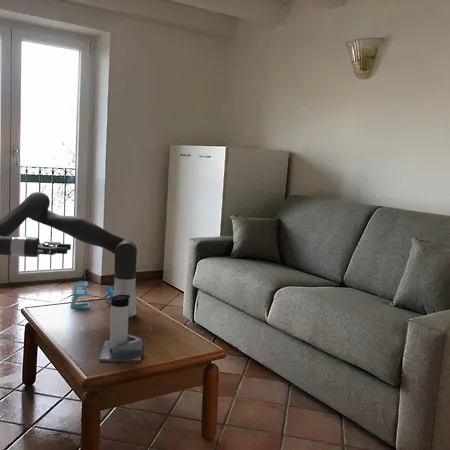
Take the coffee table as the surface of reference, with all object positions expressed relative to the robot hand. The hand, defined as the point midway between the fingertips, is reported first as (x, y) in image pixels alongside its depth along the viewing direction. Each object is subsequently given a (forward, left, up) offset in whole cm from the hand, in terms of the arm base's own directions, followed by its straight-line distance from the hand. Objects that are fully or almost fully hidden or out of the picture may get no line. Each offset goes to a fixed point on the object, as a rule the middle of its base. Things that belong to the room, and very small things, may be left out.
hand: (69, 249), depth 200 cm
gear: (-40, -23, -33) cm, 57 cm away
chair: (-23, -26, -33) cm, 48 cm away
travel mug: (-3, +30, -32) cm, 44 cm away
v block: (-3, +30, -33) cm, 45 cm away
